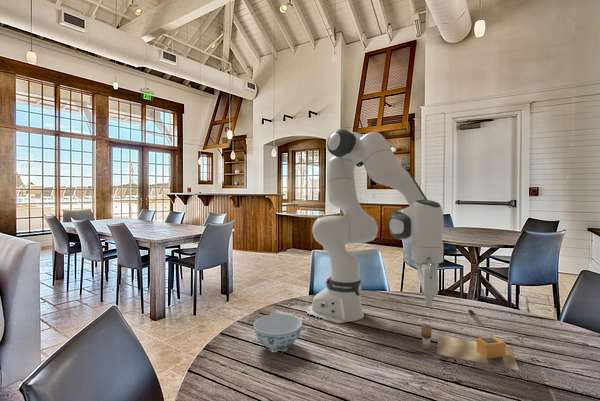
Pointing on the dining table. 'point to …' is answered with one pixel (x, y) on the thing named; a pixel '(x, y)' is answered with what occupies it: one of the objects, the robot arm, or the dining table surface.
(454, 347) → the panel
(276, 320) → the chinaware
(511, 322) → the dining table surface
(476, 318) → the tactical tomahawk
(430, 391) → the dining table surface
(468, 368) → the dining table surface
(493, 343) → the orange box
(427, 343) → the brown goblet
